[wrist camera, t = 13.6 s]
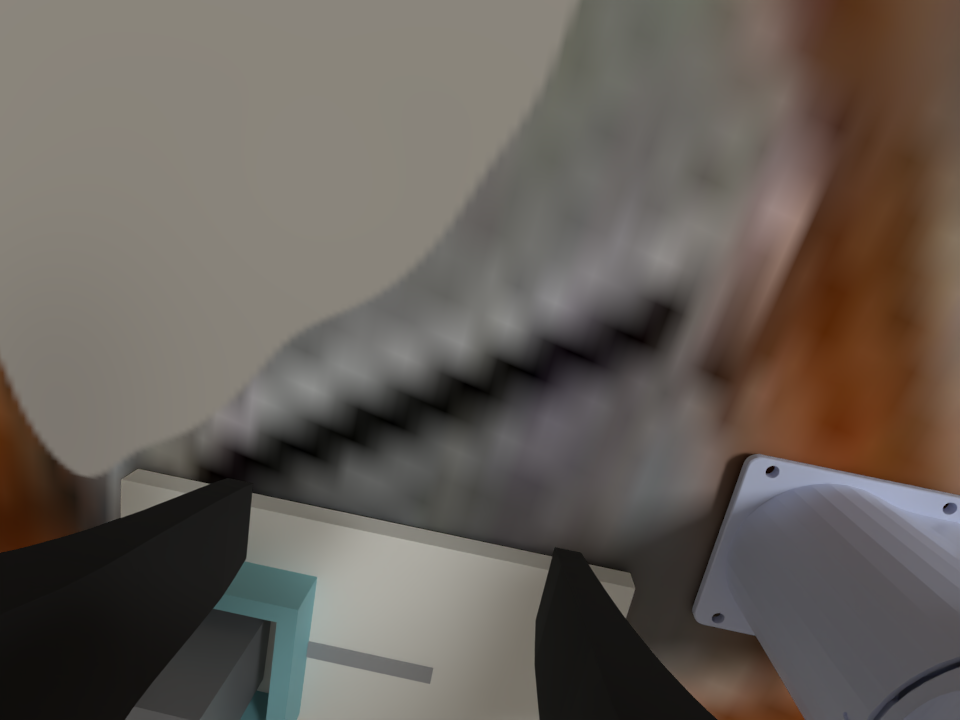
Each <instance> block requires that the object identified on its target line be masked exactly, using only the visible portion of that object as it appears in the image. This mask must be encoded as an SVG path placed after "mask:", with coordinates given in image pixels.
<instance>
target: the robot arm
mask: <svg viewBox="0 0 960 720" xmlns="http://www.w3.org/2000/svg"><path fill="white" fill-rule="evenodd" d="M770 466H775V468H774V470H773V472H771V473H766V470H767V468H768V467H770ZM252 490H253V483H248V482H244V481H239V480H234V479H229V478H227V479H224V480H220V481H217V482H214V483H212V484H209V485H206V486H204V487H201V488H198V489H196V490H193V491H191V492H188V493H186V494H183V495H181V496H178V497H176V498H173V499H170V500H168V501H165V502H163V503H160V504H157V505H155V506H152V507H150V508H147V509H145V510H142V511H139V512H136V513H134V514H131V515H128V516H125V517H122V518H119V519H116V520H114V521H111V522H108V523H105V524H102V525H99V526H96V527H94V528H91V529H87V530H84V531H81V532H78V533H75V534H71V535H68V536H65V537H61V538H58V539H54V540H50V541H47V542H43V543H39V544H36V545H32V546H28V547H24V548H20V549H16V550H12V551H7V552H2V553H0V720H125V719H126V718H127V716H128V715H129V713H130V712H131V710H132V709H133V707H134V706H135V705H136V703H137V702H138V701H139V699H140V698H141V697H142V696H143V694H144V693H145V692H146V690H147V689H148V688H149V686H150V685H151V684H152V683H153V681H154V680H155V679H156V678H157V676H158V675H159V674H160V673H161V672H162V670H163V669H164V668H165V667H166V666H167V664H168V663H169V662H170V661H171V659H172V658H173V657H174V656H175V655H176V653H177V652H178V651H179V650H180V648H181V647H182V646H183V645H184V644H185V642H186V641H187V640H188V639H189V638H190V636H191V635H192V634H193V633H194V631H195V630H196V629H197V628H198V627H199V625H200V624H201V623H202V622H203V620H204V619H205V618H206V617H207V615H208V614H209V613H210V612H211V610H212V609H213V608H214V607H215V606H216V604H217V603H218V602H219V600H220V599H221V598H222V597H223V595H224V594H225V592H226V590H227V589H228V587H229V586H230V584H231V583H232V581H233V580H234V578H235V576H236V575H237V573H238V571H239V570H240V568H241V566H242V565H243V563H244V561H245V560H246V558H247V546H248V535H249V524H250V512H251V501H252ZM947 503H949V505H948V506H947V507H946V508H944V509H943V507H944V506H945V504H947ZM692 613H693V615H694V618H695V620H696V621H697V622H698V623H700V624H703V625H707V626H712V627H716V628H721V629H726V630H730V631H735V632H740V633H745V634H749V635H754V636H756V637H757V639H758V641H759V642H760V644H761V646H762V647H763V649H764V651H765V653H766V654H767V656H768V658H769V659H770V661H771V663H772V664H773V666H774V668H775V669H776V671H777V673H778V675H779V676H780V678H781V680H782V681H783V683H784V685H785V686H786V688H787V690H788V691H789V693H790V695H791V697H792V698H793V700H794V702H795V703H796V705H797V707H798V708H799V710H800V712H801V714H802V715H803V717H804V719H805V720H960V495H955V494H951V493H946V492H941V491H936V490H931V489H926V488H921V487H917V486H912V485H907V484H902V483H897V482H892V481H888V480H883V479H878V478H873V477H868V476H863V475H858V474H854V473H849V472H844V471H839V470H834V469H829V468H825V467H820V466H815V465H810V464H805V463H800V462H795V461H791V460H786V459H781V458H776V457H771V456H766V455H762V454H754V455H751V456H749V457H748V458H747V459H746V460H745V462H744V463H743V466H742V469H741V472H740V475H739V478H738V480H737V483H736V486H735V489H734V492H733V494H732V497H731V500H730V503H729V506H728V509H727V511H726V514H725V517H724V520H723V523H722V526H721V528H720V531H719V534H718V537H717V540H716V542H715V545H714V548H713V551H712V554H711V557H710V559H709V562H708V565H707V568H706V571H705V574H704V576H703V579H702V582H701V585H700V588H699V590H698V593H697V596H696V599H695V602H694V605H693V607H692ZM716 613H720V615H719V616H717V617H712V616H713V615H714V614H716ZM534 665H535V677H536V688H537V700H538V710H539V720H717V719H716V718H715V717H714V716H713V715H712V714H711V713H710V712H708V711H707V710H706V709H705V708H704V707H703V706H702V705H701V704H700V703H699V702H698V701H697V700H696V699H695V698H694V697H693V696H692V695H691V694H690V693H689V692H688V691H687V690H686V689H685V688H684V687H683V686H682V685H681V684H680V682H679V681H678V680H677V679H676V678H675V677H674V676H673V675H672V674H671V673H670V672H669V671H668V670H667V669H666V668H665V666H664V665H663V664H662V663H661V662H660V661H659V660H658V658H657V657H656V656H655V655H654V654H653V653H652V651H651V650H650V649H649V648H648V646H647V645H646V644H645V643H644V641H643V640H642V639H641V638H640V636H639V635H638V634H637V633H636V631H635V630H634V629H633V628H632V626H631V625H630V624H629V622H628V621H627V620H626V618H625V617H624V616H623V614H622V613H621V611H620V610H619V609H618V607H617V606H616V604H615V603H614V602H613V600H612V599H611V597H610V596H609V594H608V593H607V592H606V590H605V589H604V587H603V586H602V584H601V583H600V581H599V580H598V578H597V577H596V575H595V574H594V572H593V570H592V569H591V567H590V566H589V564H588V563H587V561H586V560H585V558H584V557H583V555H582V554H581V553H579V552H575V551H570V550H565V549H560V548H556V547H555V548H554V552H553V556H552V560H551V564H550V567H549V571H548V575H547V579H546V582H545V586H544V590H543V594H542V598H541V601H540V605H539V609H538V613H537V617H536V621H535V662H534Z"/></svg>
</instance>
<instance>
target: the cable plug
mask: <svg viewBox="0 0 960 720" xmlns="http://www.w3.org/2000/svg"><path fill="white" fill-rule="evenodd" d="M270 625H271V621H268V620H263V619H259V618H254V617H249V616H245V615H240V614H236V613H231V612H226V611H222V610H217V609H212V610H211V612H210V613H209V614H208V615H207V617H206V618H205V619H204V620H203V622H202V623H201V624H200V625H199V627H198V628H197V629H196V630H195V631H194V633H193V634H192V635H191V636H190V638H189V639H188V640H187V641H186V642H185V644H184V645H183V646H182V647H181V648H180V650H179V651H178V652H177V653H176V655H175V656H174V657H173V658H172V659H171V661H170V662H169V663H168V664H167V666H166V667H165V668H164V669H163V670H162V672H161V673H160V674H159V675H158V676H157V678H156V679H155V680H154V681H153V683H152V684H151V685H150V686H149V688H148V689H147V690H146V692H145V693H144V694H143V696H142V697H141V698H140V699H139V701H138V702H137V703H136V705H135V706H134V707H133V709H132V710H131V712H130V713H129V715H128V716H127V718H126V719H125V720H240V719H241V717H242V715H243V713H244V712H245V710H246V708H247V706H248V705H249V703H250V701H251V699H252V698H253V696H254V694H255V692H256V691H257V689H258V687H259V685H260V683H261V682H262V680H263V677H264V670H265V662H266V655H267V648H268V640H269V633H270Z"/></svg>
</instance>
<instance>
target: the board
mask: <svg viewBox="0 0 960 720" xmlns="http://www.w3.org/2000/svg"><path fill="white" fill-rule="evenodd" d="M206 485H209V484H208V483H203V482H198V481H194V480H189V479H184V478H179V477H175V476H170V475H165V474H160V473H156V472H151V471H146V470H142V469H137V470H135V471H134V472H132V473H131V474H129V475H127V476H126V477H124V478H123V479H121V518H122V517H125V516H128V515H131V514H134V513H136V512H139V511H142V510H145V509H147V508H150V507H152V506H155V505H157V504H160V503H163V502H165V501H168V500H170V499H173V498H176V497H178V496H181V495H183V494H186V493H188V492H191V491H193V490H196V489H198V488H201V487H204V486H206ZM551 560H552V556H547V555H543V554H538V553H533V552H529V551H524V550H519V549H514V548H510V547H505V546H500V545H496V544H491V543H486V542H481V541H477V540H472V539H467V538H462V537H458V536H453V535H448V534H444V533H439V532H434V531H429V530H425V529H420V528H415V527H411V526H406V525H401V524H396V523H392V522H387V521H382V520H378V519H373V518H368V517H363V516H359V515H354V514H349V513H345V512H340V511H335V510H330V509H326V508H321V507H316V506H311V505H307V504H302V503H297V502H293V501H288V500H283V499H278V498H274V497H269V496H264V495H260V494H255V493H252V501H251V512H250V524H249V535H248V546H247V558H246V560H245V561H244V563H243V565H242V566H241V568H240V570H239V571H238V573H237V575H236V576H235V578H234V580H233V581H232V583H231V584H230V586H229V587H228V589H227V590H226V592H225V594H224V595H223V597H222V598H221V599H220V600H219V602H218V603H217V604H216V606H215V607H214V608H213V609H217V610H222V611H226V612H231V613H236V614H240V615H245V616H249V617H254V618H259V619H263V620H268V621H271V625H270V633H269V640H268V648H267V655H266V662H265V670H264V677H263V680H262V682H261V683H260V685H259V687H258V689H257V691H256V692H255V694H254V696H253V698H252V699H251V701H250V703H249V705H248V706H247V708H246V710H245V712H244V713H243V715H242V717H241V719H240V720H539V710H538V700H537V688H536V677H535V665H534V662H535V621H536V617H537V613H538V609H539V605H540V601H541V598H542V594H543V590H544V586H545V582H546V579H547V575H548V571H549V567H550V564H551ZM589 566H590V567H591V569H592V570H593V572H594V574H595V575H596V577H597V578H598V580H599V581H600V583H601V584H602V586H603V587H604V589H605V590H606V592H607V593H608V594H609V596H610V597H611V599H612V600H613V602H614V603H615V604H616V606H617V607H618V609H619V610H620V611H621V613H622V614H623V616H624V617H625V618H626V617H627V614H628V610H629V607H630V604H631V601H632V598H633V595H634V592H635V586H634V583H633V580H632V577H631V574H630V573H628V572H623V571H618V570H613V569H609V568H604V567H599V566H595V565H590V564H589Z"/></svg>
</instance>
